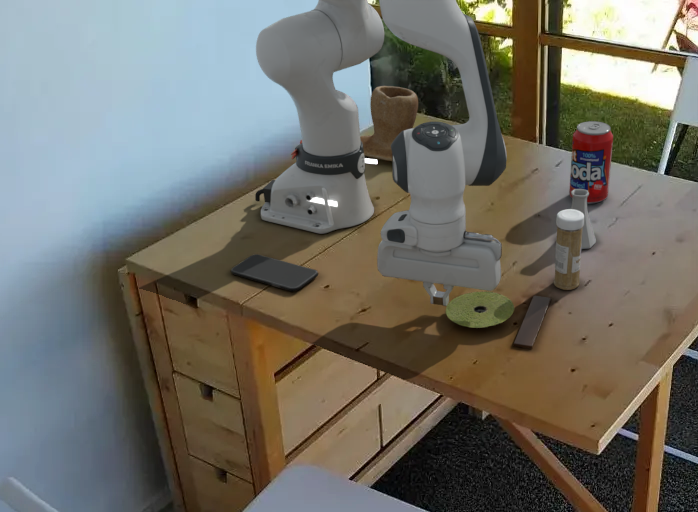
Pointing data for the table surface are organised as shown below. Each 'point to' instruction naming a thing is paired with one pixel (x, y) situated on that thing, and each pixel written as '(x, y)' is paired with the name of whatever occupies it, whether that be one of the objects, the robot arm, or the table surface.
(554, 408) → the table surface
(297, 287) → the smartphone
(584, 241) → the flask
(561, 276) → the sprinkles bottle
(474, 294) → the green flat disc
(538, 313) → the walnut strip
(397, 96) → the stone cup
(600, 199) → the soda can
